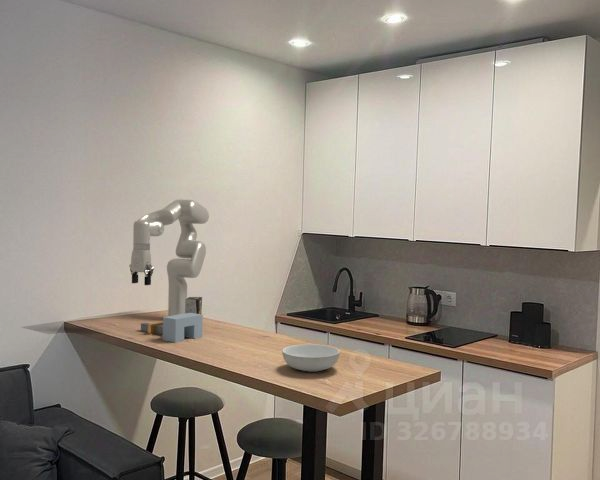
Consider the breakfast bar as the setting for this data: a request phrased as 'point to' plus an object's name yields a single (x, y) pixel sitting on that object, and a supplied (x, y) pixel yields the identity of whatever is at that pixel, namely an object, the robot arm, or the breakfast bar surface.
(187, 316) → the cross-hole block
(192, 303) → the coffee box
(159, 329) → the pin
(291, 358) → the serving bowl
